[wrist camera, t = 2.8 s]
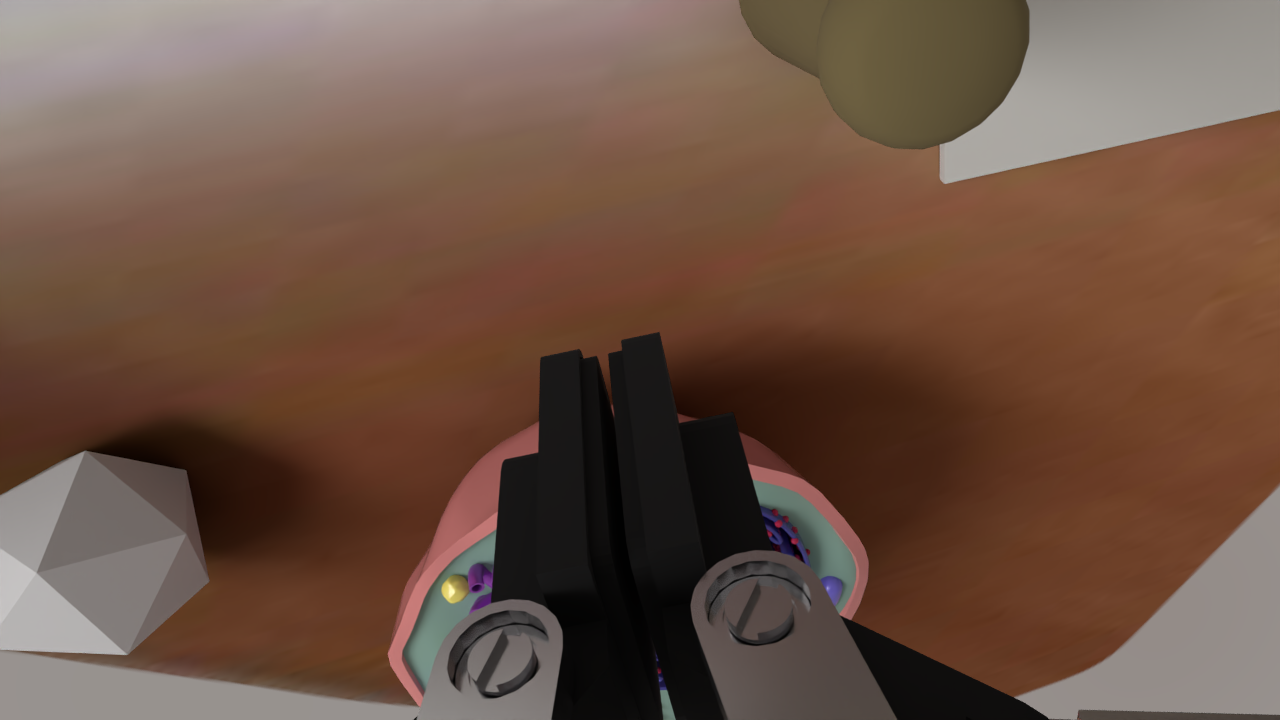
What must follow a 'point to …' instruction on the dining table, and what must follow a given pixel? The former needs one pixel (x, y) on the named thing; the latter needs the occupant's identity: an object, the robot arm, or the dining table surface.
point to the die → (96, 555)
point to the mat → (1125, 79)
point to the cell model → (467, 535)
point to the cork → (901, 60)
